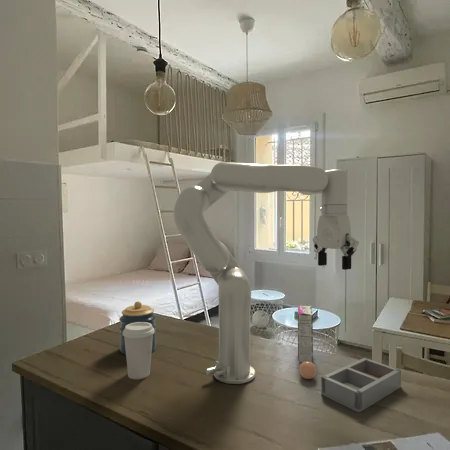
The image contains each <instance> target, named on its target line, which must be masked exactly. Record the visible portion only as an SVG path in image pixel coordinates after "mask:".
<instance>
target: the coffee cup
mask: <svg viewBox="0 0 450 450" xmlns="http://www.w3.org/2000/svg"><path fill="white" fill-rule="evenodd" d="M154 333H155V330H154V328H153V327H152V324H151V323H148V322H135V323H131V324H128V325H126V326H125V329H124V331H123V336H124V339H125V349H126V355H125V356H126V357H125V358H126V369H127V377H128V378H129V379H132V380H141V379H143V380H144V379H145V378H148V377H149V376H150V374H151V365H152V363H151V361H152V353H153V352H152V341H153V334H154Z"/></svg>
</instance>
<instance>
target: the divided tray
mask: <svg viewBox="0 0 450 450" xmlns="http://www.w3.org/2000/svg"><path fill="white" fill-rule="evenodd" d="M320 380H321V387H320V388H321V389H320V390H321V391H320V392H321V395H322V396H324V397H326V398H327V399H330V400H333V401H334V402H336V403H338V404H340V405H342V406H344V407H346V408H348V409H350V410H353V411H355V413H362V412H363V411H364V410H366V409H368V408H369V407H371V406H373V405H374V404H376V403H378V402H380V401H381V400H382V399H384V398H386V397H387V396H389V395H391V394H392V393H394V392H395V391H398V390H399V389H400V388H402V370H401V369H398V368H395V367H392V366H390V365H387V364H385V363H381V362H378V361H375V360H374V359H373V360H372V359H370V358H366V357H363V358H361V359H359V360H356V361H354V362H352V363H349V364H348V365H345V366H343V367H340V368H338V369H336V370H334V371H331V372H330V373H328V374H325V375H321V379H320Z"/></svg>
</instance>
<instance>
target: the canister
mask: <svg viewBox="0 0 450 450" xmlns="http://www.w3.org/2000/svg"><path fill="white" fill-rule="evenodd" d="M154 311H155V310H154V308H152V307H150V306H149V305H147V304H142V302H141V301H139V300H137V301H135V302H134V304H133V305H129V306H127V307H126V308H124V309H123V310H122V311H121V314H122V315H121V316H120V317H119V318H118V319H119V322H120V326H119V350H120V353H121V354H123V356H126V349H125V339H124V336H123V331H124V329H125V326H126V325H128V324H131V323H135V322H148V323H151V324H152V327H153V328H154V330H155V333H154V334H153V341H152V353H153V352H154V351H156V349H157V348H156V347H157V332H156V331H157V324H156V319H157V315H156V314H155V313H154Z"/></svg>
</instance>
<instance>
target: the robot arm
mask: <svg viewBox="0 0 450 450" xmlns="http://www.w3.org/2000/svg"><path fill="white" fill-rule="evenodd" d="M230 191H231V192H242V193H243V192H245V193H259V194H262V193H263V194H269V193H274V192H298V193H299V194H301V195H304V196H311V195H320V194H321V207H320V213H321V215H319V217H318V222H317V228H316V231H317V232H316V236H314V237H313V238H312V243H313V245H314V248H315V250H316V253H317V265H318V266H319V267H321V266H326V265H327V264H328V263H327V262H328V261H327V260H328V257H327V256H328V253H327V252H326V251H327V250H328V249H331V250H340V251H341V252H342V254H343V255H342V256H341V269H342V270H344V271H345V270H351V269H352V257H353V256H354V253H355V252H357V248H358V246H359V243H360V242H359V241H358V240H357V239H356V238H354V236H352V230H351V221H350V216H349V215H348V173H347V171H346V170H344V169H329V170H324V169H323V168H321V167H320V166H319V167H318V166H314V165H313V166H312V165H299V164H260V163H245V162H233V161H232V162H231V161H222V162H218V163H216V164H215V165H213V167H212V168H211V170H210V173H209V174H208V175H206V177H204V178H203V179H202V180H200V182H198V183H197V184H196V185H189V186H187V187H185V188H183V190H181V192H180V193H179V195H178V197H177V199H176V200H175V205H174V210H173V218H174V223H175V226H176V229H177V230H178V232H179V234H180V235H181V237H182V239H183V240H184V241H185V243H186V244H187V246H188V248H189V249H190V251H191V252H192V253H193V255H194V257H195V258H196V259H197V261H198V262H199V264H200V267H201V268H203V270H204V271H206V272H207V273H209V275H210V276H211V278H212V279H213V281H214V282H215V283H216V284H217V285H218V360H215V364H214V365H213V366H212V367H208V368H206V369H205V370H204V371H205V375H206V376H207V377H208V376H212V375H213V377H214V379H216V380H218V381H219V382H222V383H224V384H231V385H240V384H241V385H242V384H246V383H249V382H250V381H252V380H253V379H254V378H255V377H256V370H255V369H254V367H252V366H251V301H252V286H251V283H250V280H249V278H248V276H247V275H246V273H245V271H244V270H243V268H242V267H241V266H240V265H239V263H238V262H237V260H236V258H235V257H234V256H233V254H232V253H231V252H230V250H229V249H228V247H227V246H226V245H225V244H224V243H223V242H221V241H220V240H219V239H218V237H217V236H216V235H215V233H214V232H213V230H212V228H211V227H210V226H209V224H208V222H207V221H206V219H205V217H204V213H205V212H206V211H207V210H208V209H210V207H212V206H213V205H215V203H217V202H218V201H219V200H220V199H222V198H223V197H225V195H227V194H228V193H229V192H230Z"/></svg>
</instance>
